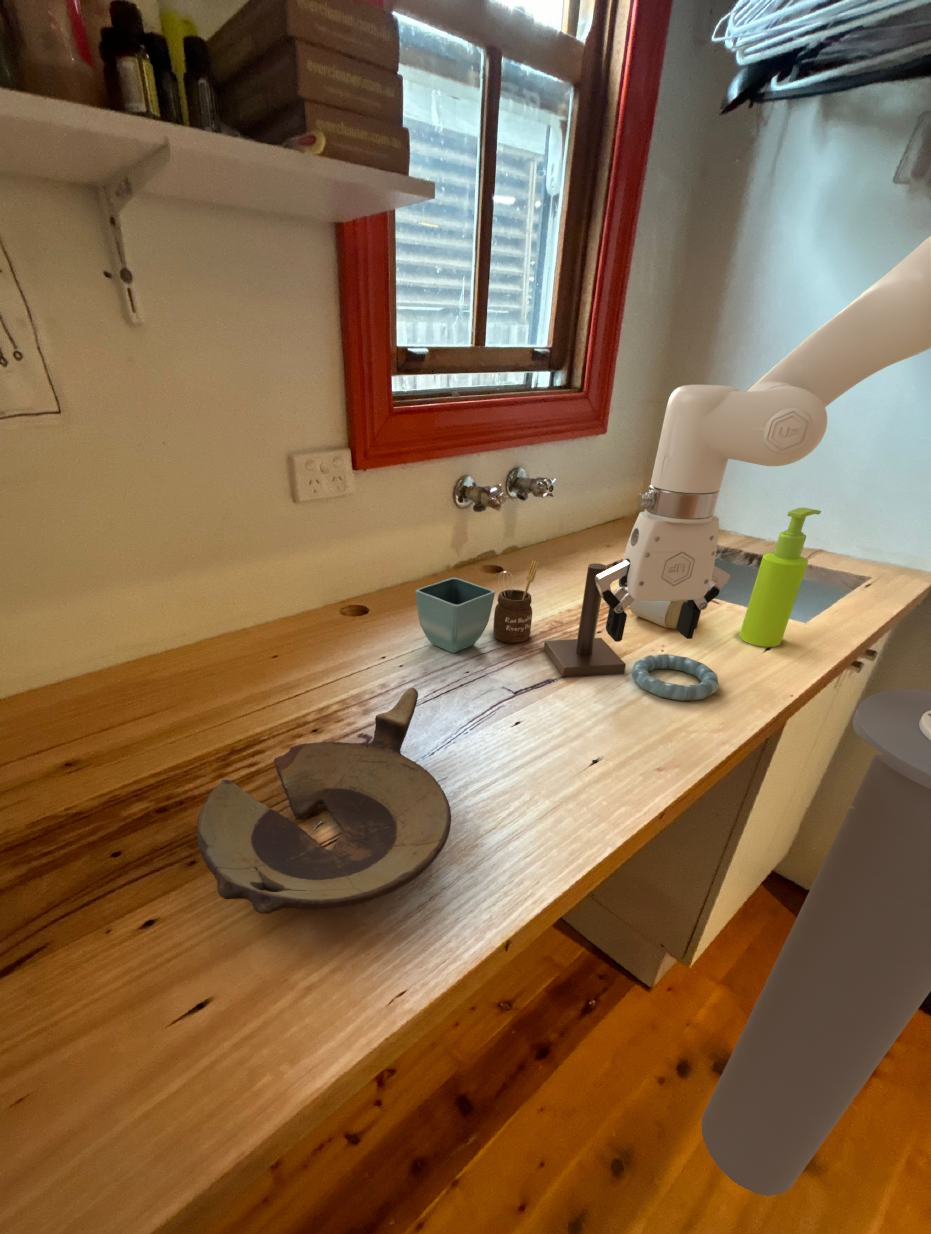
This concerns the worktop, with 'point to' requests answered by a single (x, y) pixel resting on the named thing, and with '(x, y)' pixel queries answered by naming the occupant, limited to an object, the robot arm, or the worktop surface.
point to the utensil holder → (514, 612)
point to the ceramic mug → (658, 611)
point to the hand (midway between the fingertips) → (648, 635)
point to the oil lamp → (358, 802)
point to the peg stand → (586, 639)
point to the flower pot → (454, 612)
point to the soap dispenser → (777, 585)
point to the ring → (674, 690)
